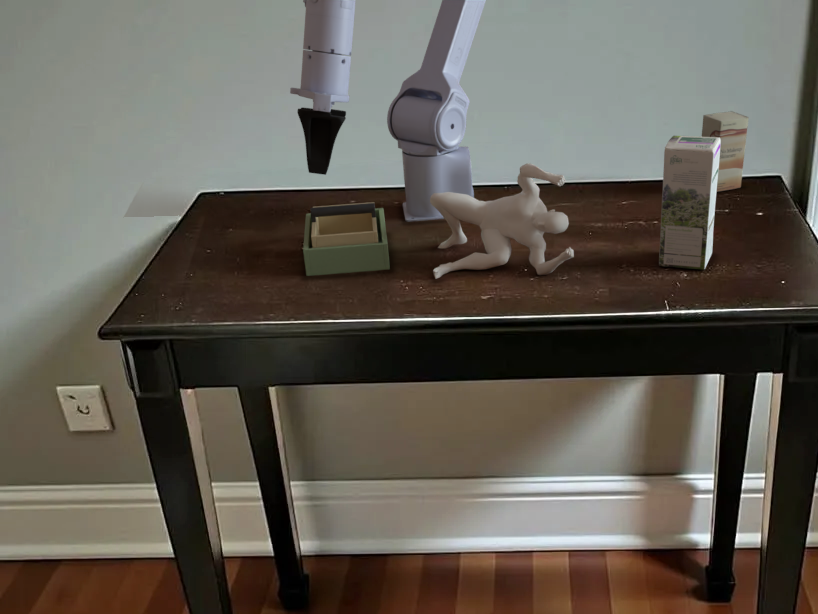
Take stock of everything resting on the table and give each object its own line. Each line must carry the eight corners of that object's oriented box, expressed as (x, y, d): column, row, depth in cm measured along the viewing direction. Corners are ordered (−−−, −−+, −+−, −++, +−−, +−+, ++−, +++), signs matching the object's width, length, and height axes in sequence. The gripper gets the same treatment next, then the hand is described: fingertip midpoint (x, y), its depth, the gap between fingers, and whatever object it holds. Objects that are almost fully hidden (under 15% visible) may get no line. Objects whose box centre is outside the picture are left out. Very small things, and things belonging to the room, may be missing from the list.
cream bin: (377, 234, 142) (373, 189, 139) (380, 266, 132) (375, 218, 129) (317, 239, 141) (311, 193, 138) (315, 271, 131) (309, 223, 128)
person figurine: (407, 189, 123) (561, 157, 120) (423, 181, 135) (563, 152, 132) (431, 300, 127) (580, 271, 125) (445, 282, 139) (581, 256, 136)
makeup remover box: (713, 193, 152) (719, 121, 147) (696, 185, 156) (700, 114, 150) (743, 187, 154) (750, 115, 149) (725, 180, 157) (731, 109, 152)
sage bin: (385, 234, 143) (383, 207, 141) (390, 271, 131) (387, 243, 129) (309, 240, 142) (305, 213, 140) (306, 278, 130) (303, 250, 128)
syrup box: (712, 254, 132) (722, 135, 124) (705, 271, 127) (714, 148, 119) (666, 251, 133) (673, 132, 126) (657, 267, 129) (663, 146, 121)
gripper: (296, 48, 133) (288, 161, 138) (290, 47, 120) (282, 172, 125) (352, 56, 134) (343, 167, 139) (353, 56, 121) (342, 179, 126)
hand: (318, 170), depth 132 cm, fingers open, 7 cm apart
